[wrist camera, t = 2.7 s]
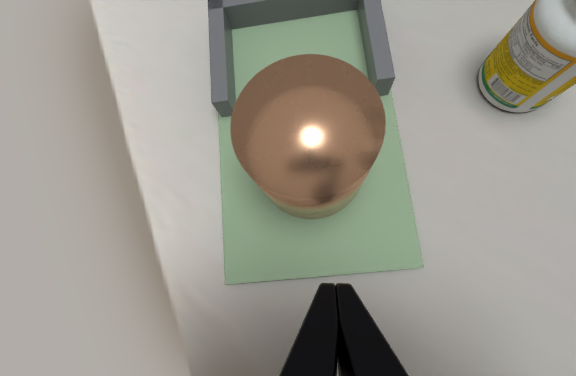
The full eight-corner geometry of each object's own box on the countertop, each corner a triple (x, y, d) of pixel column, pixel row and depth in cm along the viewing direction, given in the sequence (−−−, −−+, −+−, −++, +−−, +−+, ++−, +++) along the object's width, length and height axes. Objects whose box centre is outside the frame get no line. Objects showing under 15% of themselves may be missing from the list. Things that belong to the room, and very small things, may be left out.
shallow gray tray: (387, 94, 23) (395, 77, 21) (222, 117, 25) (211, 102, 22) (369, -5, 26) (374, -31, 23) (217, 19, 27) (207, -3, 24)
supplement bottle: (475, 111, 23) (579, 13, 14) (476, 49, 24) (573, -82, 15) (554, 117, 22) (720, 17, 13) (551, 52, 23) (703, -83, 14)
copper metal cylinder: (370, 214, 22) (397, 189, 14) (264, 224, 22) (233, 206, 15) (356, 115, 23) (373, 44, 16) (258, 126, 24) (227, 64, 16)
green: (420, 267, 21) (423, 267, 20) (227, 283, 22) (225, 284, 22) (372, 0, 26) (373, -6, 26) (216, 25, 27) (214, 20, 27)
